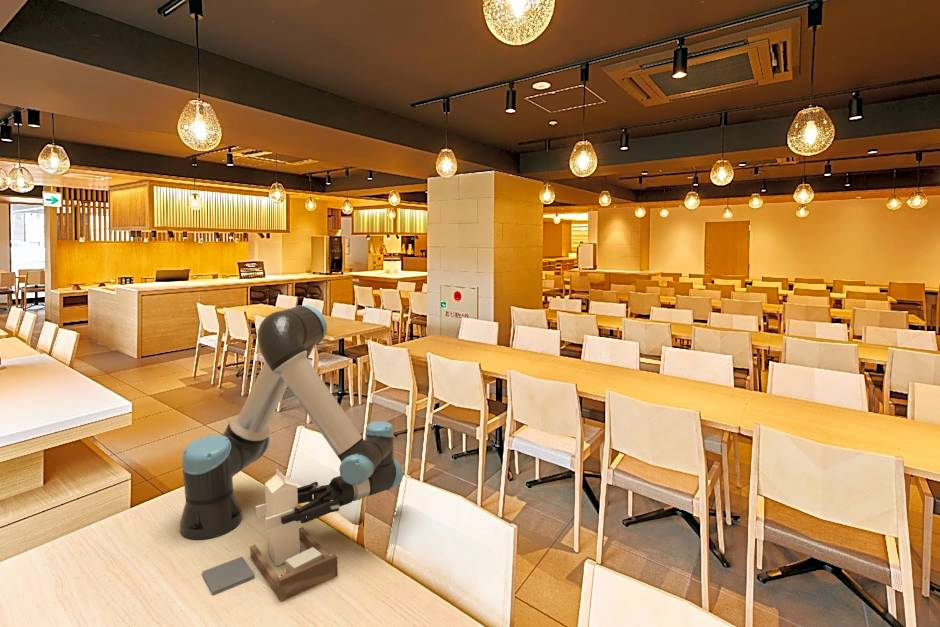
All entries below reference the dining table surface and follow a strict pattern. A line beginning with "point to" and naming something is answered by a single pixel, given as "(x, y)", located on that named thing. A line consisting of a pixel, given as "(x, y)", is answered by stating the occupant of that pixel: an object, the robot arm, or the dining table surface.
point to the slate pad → (227, 575)
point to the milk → (279, 500)
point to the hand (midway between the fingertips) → (261, 517)
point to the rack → (301, 577)
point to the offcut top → (302, 559)
